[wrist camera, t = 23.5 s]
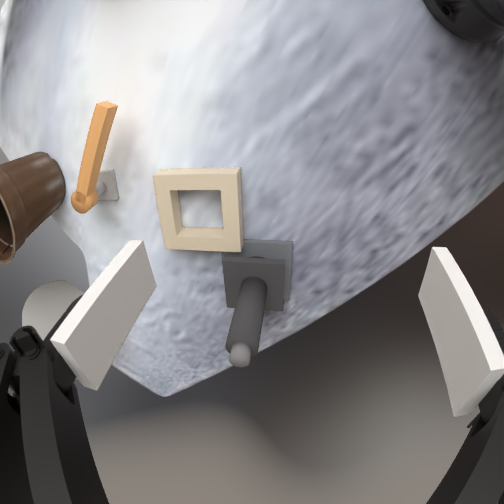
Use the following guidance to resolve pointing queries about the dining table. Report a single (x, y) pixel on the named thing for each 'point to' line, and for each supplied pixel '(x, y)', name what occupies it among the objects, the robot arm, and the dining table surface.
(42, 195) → the plant pot
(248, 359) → the plug
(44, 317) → the alarm clock
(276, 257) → the mat
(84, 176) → the orange lever handle
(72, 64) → the dining table surface
